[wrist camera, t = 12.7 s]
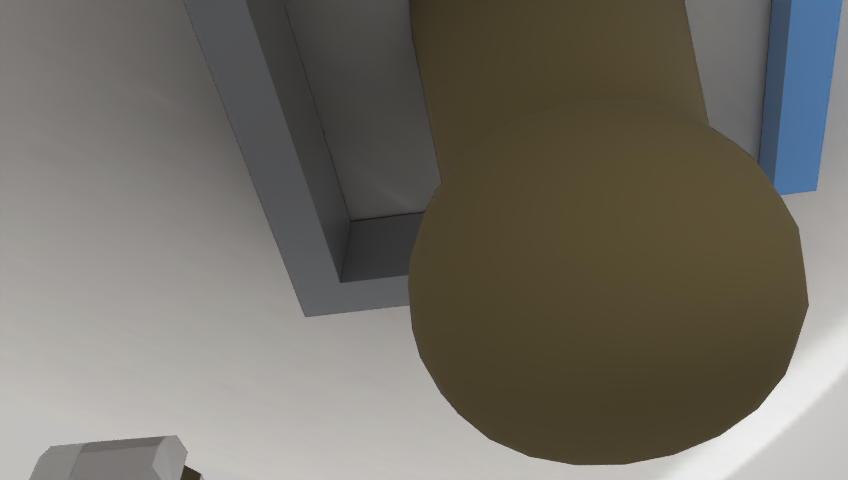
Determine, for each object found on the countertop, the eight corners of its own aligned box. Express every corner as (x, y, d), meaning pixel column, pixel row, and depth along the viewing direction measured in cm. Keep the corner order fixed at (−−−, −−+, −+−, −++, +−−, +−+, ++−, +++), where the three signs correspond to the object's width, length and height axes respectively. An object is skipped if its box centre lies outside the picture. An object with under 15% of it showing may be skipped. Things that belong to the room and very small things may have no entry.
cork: (684, 104, 20) (859, 506, 11) (440, 147, 21) (427, 546, 12) (676, -162, 16) (928, 131, 7) (378, -95, 17) (299, 233, 8)
